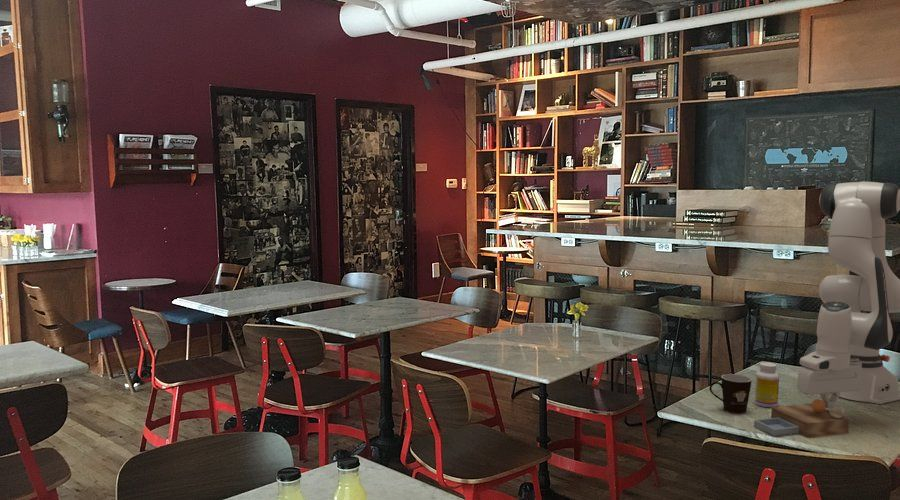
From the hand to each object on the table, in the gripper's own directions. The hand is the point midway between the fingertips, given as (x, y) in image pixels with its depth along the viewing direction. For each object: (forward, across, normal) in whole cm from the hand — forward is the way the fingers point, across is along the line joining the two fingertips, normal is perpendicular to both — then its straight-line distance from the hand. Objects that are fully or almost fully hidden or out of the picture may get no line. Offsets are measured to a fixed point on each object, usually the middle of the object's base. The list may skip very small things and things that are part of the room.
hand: (829, 406), depth 209 cm
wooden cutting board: (+5, +7, 0) cm, 8 cm away
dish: (+5, +18, 0) cm, 18 cm away
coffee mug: (+6, +18, -19) cm, 27 cm away
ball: (0, +4, 0) cm, 4 cm away
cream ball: (0, +3, +5) cm, 6 cm away
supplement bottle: (+5, +4, -20) cm, 21 cm away
